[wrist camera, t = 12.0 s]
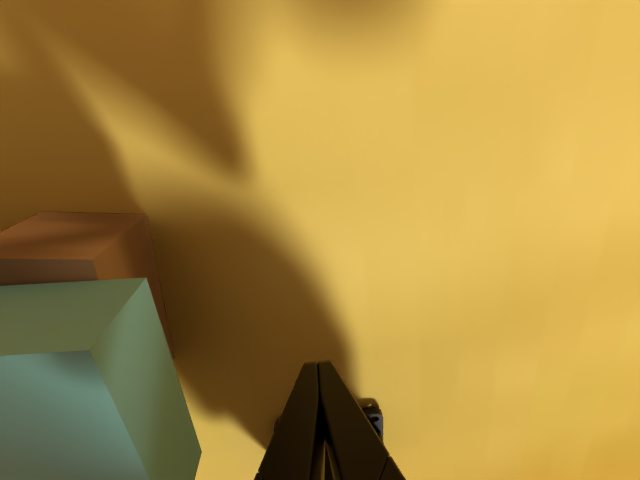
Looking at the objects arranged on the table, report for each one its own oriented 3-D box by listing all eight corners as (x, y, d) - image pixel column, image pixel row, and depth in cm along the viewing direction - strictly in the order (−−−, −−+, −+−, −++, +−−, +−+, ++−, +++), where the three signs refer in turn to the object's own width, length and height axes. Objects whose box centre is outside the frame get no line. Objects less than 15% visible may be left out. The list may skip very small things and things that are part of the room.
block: (148, 212, 13) (92, 259, 10) (175, 354, 17) (142, 428, 13) (45, 209, 13) (-53, 257, 9) (95, 355, 16) (39, 431, 13)
